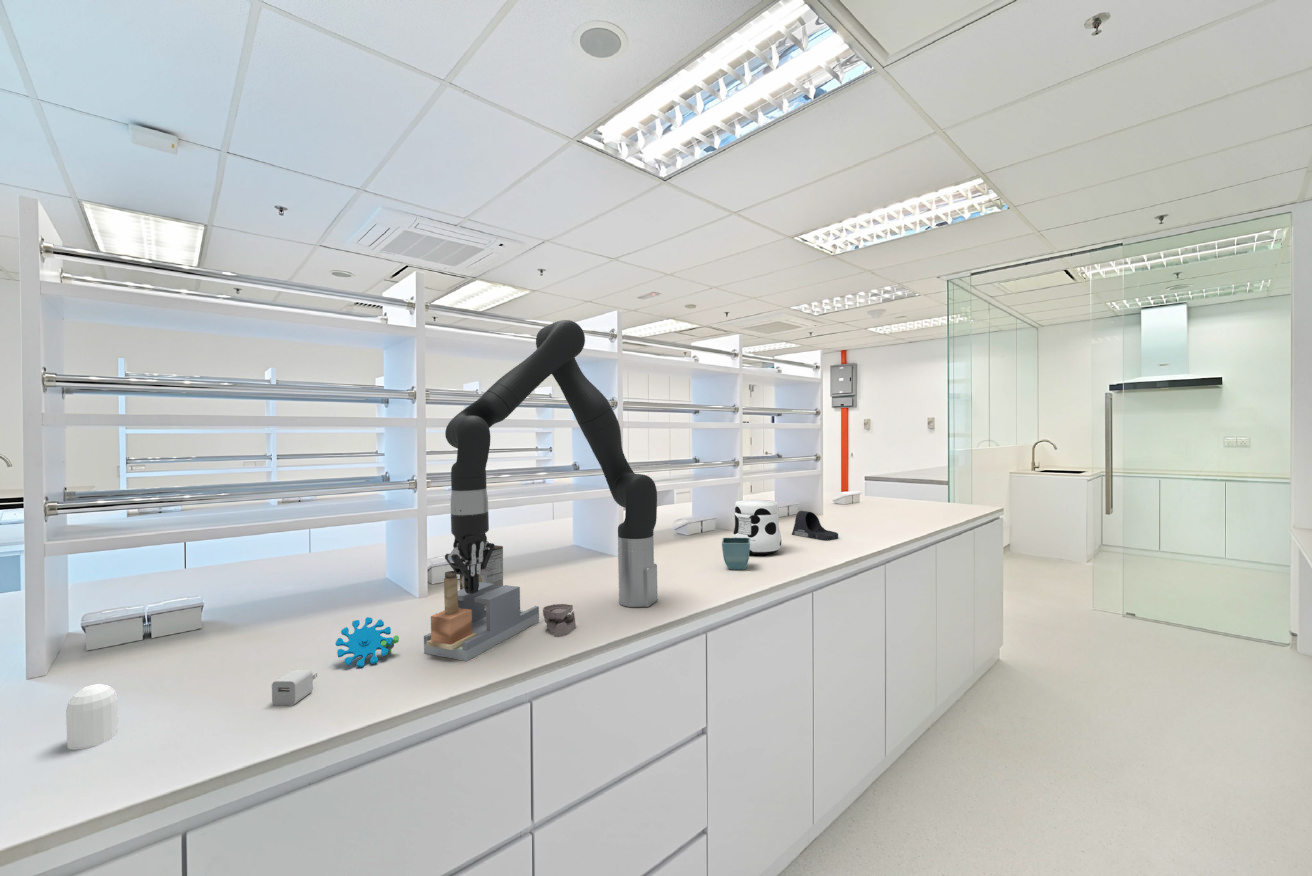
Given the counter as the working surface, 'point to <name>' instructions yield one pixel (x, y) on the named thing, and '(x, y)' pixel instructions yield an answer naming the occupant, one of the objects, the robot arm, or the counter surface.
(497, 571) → the coffee box
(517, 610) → the tunnel
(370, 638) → the gear
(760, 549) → the milk container
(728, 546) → the flower pot
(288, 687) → the usb wall charger
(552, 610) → the dental mold
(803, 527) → the sight
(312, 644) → the counter surface
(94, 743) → the white domed cylinder
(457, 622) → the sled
